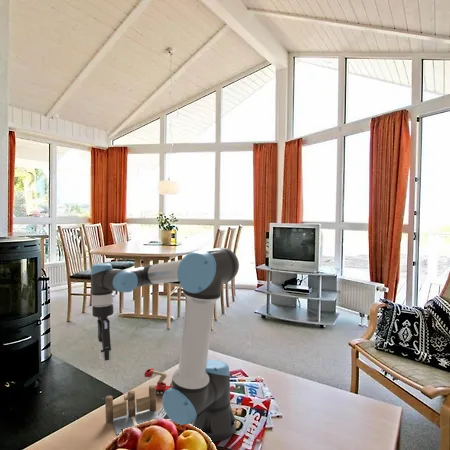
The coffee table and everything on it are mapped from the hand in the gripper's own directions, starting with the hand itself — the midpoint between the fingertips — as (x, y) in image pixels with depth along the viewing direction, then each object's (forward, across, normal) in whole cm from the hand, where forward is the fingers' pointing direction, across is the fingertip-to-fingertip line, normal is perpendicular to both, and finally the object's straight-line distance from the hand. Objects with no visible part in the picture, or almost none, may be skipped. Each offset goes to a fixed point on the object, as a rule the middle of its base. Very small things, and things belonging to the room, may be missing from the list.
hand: (104, 363), depth 133 cm
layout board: (+20, -8, -9) cm, 23 cm away
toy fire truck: (+20, +6, -23) cm, 31 cm away
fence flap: (+19, -6, -4) cm, 20 cm away
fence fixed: (+20, -6, -12) cm, 24 cm away
